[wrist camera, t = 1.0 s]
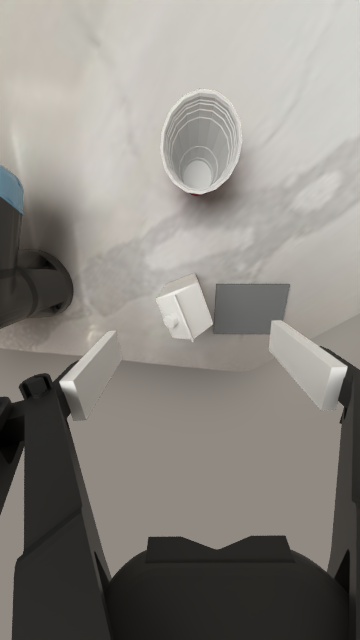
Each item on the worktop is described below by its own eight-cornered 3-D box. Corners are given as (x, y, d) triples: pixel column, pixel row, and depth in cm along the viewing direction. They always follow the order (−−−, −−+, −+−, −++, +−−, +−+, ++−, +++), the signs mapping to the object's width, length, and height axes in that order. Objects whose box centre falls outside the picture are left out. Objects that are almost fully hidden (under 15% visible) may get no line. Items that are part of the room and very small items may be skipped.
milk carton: (194, 272, 41) (200, 286, 23) (205, 301, 43) (217, 334, 26) (165, 283, 42) (149, 305, 24) (177, 311, 44) (170, 350, 27)
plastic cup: (156, 182, 36) (142, 149, 24) (195, 127, 33) (199, 61, 22) (197, 223, 38) (201, 210, 27) (236, 175, 35) (260, 138, 24)
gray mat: (213, 332, 46) (213, 333, 45) (216, 284, 42) (216, 284, 41) (278, 333, 45) (280, 334, 45) (288, 283, 41) (290, 284, 41)
